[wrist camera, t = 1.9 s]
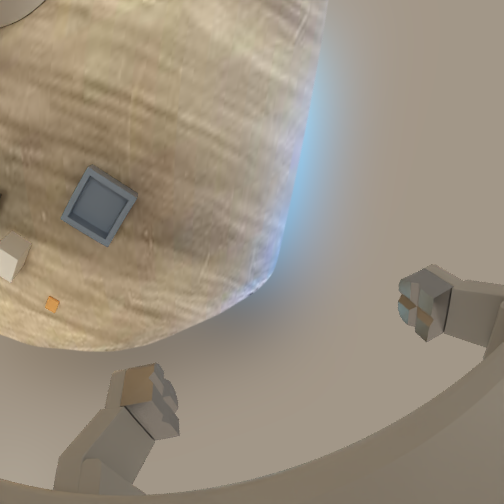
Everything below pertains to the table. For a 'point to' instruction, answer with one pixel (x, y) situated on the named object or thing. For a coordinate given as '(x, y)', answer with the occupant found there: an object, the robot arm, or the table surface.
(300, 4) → the table surface
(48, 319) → the table surface
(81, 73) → the table surface
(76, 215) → the tray
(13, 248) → the cream block
